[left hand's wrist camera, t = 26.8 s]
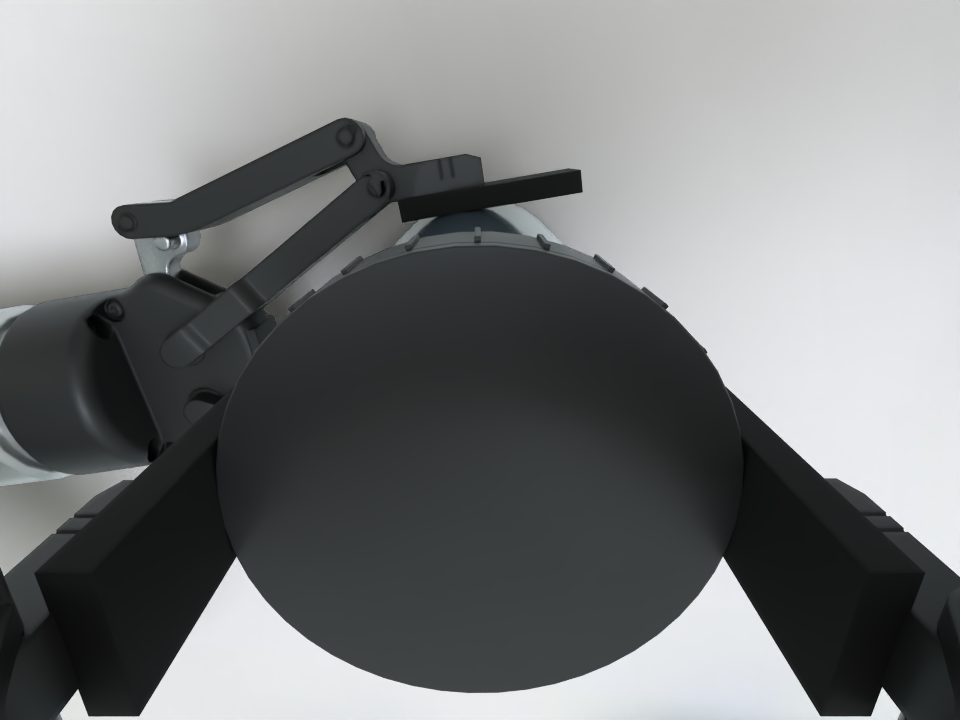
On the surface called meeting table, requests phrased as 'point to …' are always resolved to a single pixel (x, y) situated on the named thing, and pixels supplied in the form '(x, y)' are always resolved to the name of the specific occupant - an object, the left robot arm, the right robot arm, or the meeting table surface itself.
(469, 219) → the jar
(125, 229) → the right robot arm
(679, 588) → the lid
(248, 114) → the meeting table surface
